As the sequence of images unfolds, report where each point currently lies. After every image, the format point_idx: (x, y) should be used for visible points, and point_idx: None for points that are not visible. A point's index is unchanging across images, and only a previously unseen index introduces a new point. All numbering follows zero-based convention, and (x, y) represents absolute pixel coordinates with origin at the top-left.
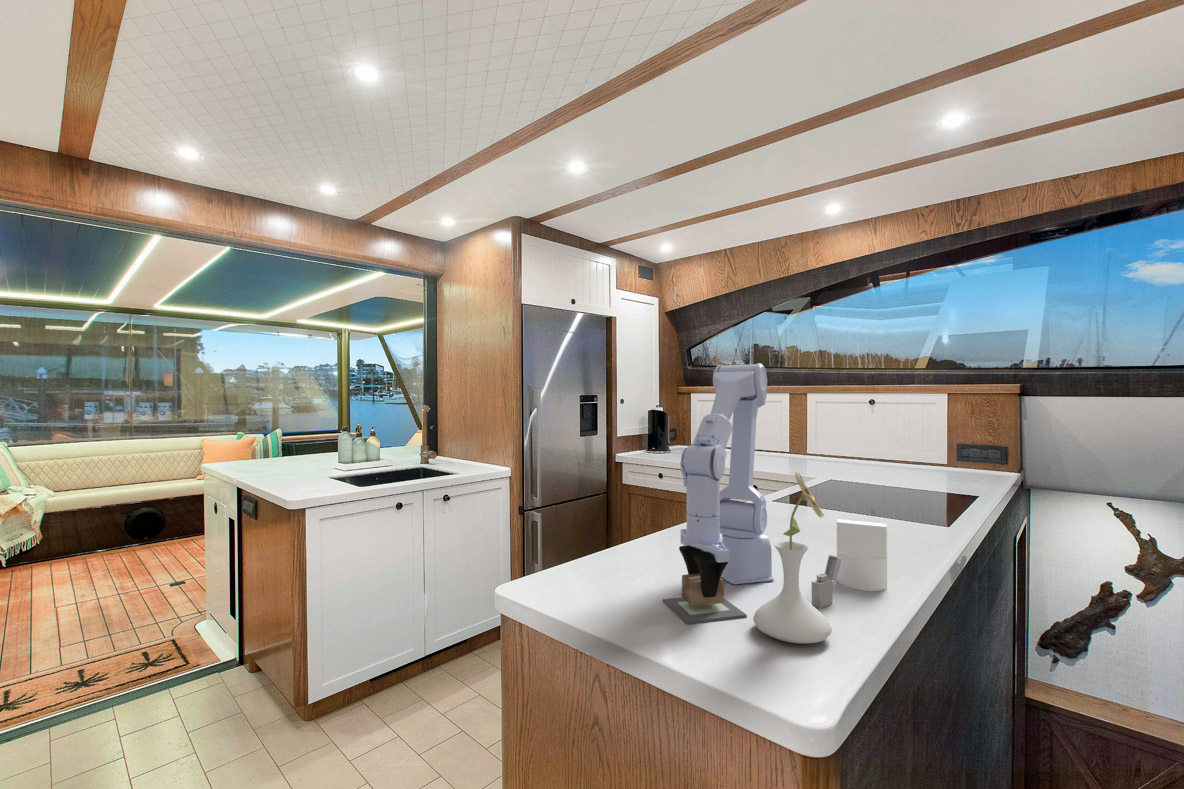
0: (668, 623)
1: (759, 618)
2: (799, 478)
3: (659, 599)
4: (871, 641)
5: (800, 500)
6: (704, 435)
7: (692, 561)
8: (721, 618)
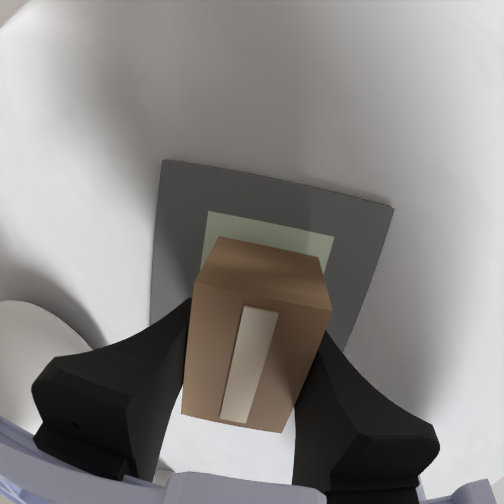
0: (200, 100)
1: (29, 325)
2: None
3: (412, 207)
4: None
5: None
6: None
7: (323, 415)
8: (152, 289)
